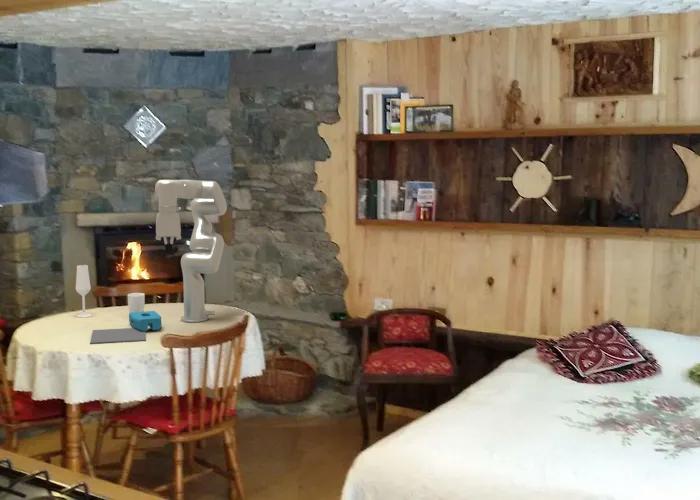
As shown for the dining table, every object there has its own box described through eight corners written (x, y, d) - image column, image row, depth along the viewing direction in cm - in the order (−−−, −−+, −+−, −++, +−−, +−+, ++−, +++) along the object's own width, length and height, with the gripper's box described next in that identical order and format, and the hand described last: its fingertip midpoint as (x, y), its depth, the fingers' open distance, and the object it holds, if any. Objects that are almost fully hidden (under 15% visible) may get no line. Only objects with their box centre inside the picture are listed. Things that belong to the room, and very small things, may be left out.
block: (135, 319, 328) (128, 312, 346) (136, 331, 328) (129, 323, 346) (163, 317, 333) (155, 310, 351) (164, 329, 333) (155, 321, 351)
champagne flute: (86, 317, 357) (84, 267, 354) (73, 316, 359) (71, 266, 356) (94, 314, 364) (92, 265, 360) (82, 313, 365) (80, 264, 362)
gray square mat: (145, 328, 337) (145, 327, 337) (145, 340, 316) (145, 339, 316) (92, 331, 331) (92, 330, 331) (90, 344, 310) (90, 342, 310)
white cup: (148, 314, 365) (148, 294, 364) (135, 317, 358) (135, 296, 357) (137, 312, 369) (136, 292, 368) (124, 315, 363) (124, 294, 361)
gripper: (185, 209, 328) (186, 251, 330) (149, 209, 324) (150, 252, 326) (186, 210, 321) (187, 253, 323) (149, 211, 317) (151, 254, 319)
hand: (168, 253), depth 325 cm, fingers closed
